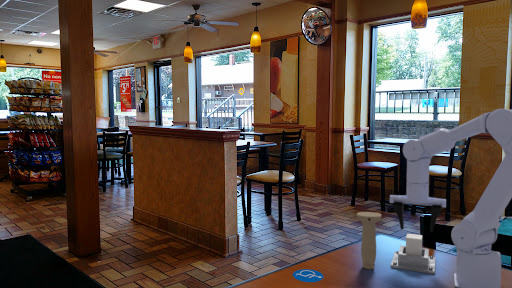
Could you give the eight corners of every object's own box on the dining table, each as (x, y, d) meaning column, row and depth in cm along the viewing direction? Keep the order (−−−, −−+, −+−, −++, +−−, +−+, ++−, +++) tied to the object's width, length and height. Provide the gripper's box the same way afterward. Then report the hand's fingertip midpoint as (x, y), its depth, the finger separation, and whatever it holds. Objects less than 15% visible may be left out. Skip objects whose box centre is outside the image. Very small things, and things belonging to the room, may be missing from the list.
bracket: (435, 259, 111) (435, 247, 110) (434, 274, 101) (435, 261, 100) (394, 254, 115) (395, 242, 115) (390, 267, 105) (390, 255, 105)
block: (421, 259, 109) (422, 235, 108) (421, 264, 105) (421, 239, 105) (406, 257, 111) (407, 233, 110) (405, 262, 107) (406, 237, 107)
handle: (381, 272, 102) (382, 217, 101) (356, 270, 104) (356, 215, 103) (380, 265, 107) (380, 212, 106) (356, 263, 109) (356, 211, 107)
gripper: (446, 181, 108) (444, 228, 109) (391, 178, 114) (390, 223, 115) (446, 186, 101) (445, 236, 102) (389, 182, 107) (388, 229, 109)
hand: (416, 229), depth 108 cm, fingers open, 7 cm apart
